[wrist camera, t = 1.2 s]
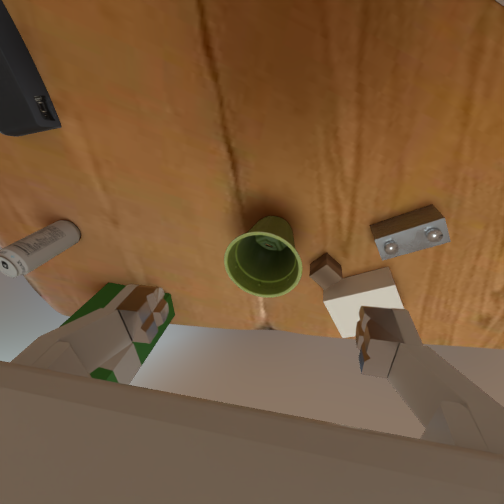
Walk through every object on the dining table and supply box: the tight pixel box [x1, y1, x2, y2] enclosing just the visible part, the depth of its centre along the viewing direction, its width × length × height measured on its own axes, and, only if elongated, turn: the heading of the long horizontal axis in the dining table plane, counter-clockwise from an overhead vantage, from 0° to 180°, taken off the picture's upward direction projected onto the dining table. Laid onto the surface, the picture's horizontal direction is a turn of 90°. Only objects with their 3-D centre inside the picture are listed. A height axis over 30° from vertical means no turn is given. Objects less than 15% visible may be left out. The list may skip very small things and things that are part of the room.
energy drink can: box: [0, 220, 80, 278], centre depth 53 cm, size 6×6×15 cm
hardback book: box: [60, 283, 175, 385], centre depth 57 cm, size 18×7×24 cm, turn 90°
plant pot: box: [224, 216, 302, 297], centre depth 43 cm, size 12×12×11 cm
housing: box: [370, 205, 450, 260], centre depth 39 cm, size 9×4×6 cm, turn 120°
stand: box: [323, 267, 404, 338], centre depth 48 cm, size 12×10×5 cm
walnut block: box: [309, 253, 343, 290], centre depth 47 cm, size 4×4×4 cm
